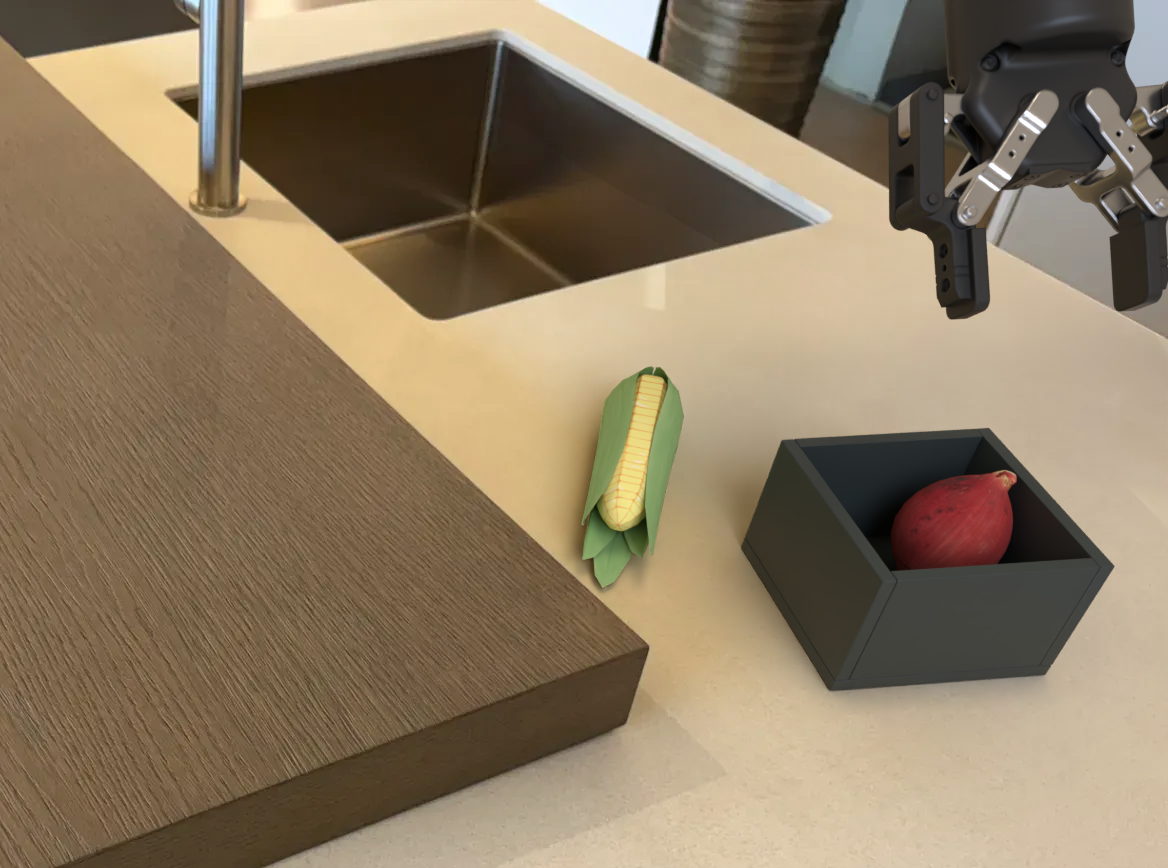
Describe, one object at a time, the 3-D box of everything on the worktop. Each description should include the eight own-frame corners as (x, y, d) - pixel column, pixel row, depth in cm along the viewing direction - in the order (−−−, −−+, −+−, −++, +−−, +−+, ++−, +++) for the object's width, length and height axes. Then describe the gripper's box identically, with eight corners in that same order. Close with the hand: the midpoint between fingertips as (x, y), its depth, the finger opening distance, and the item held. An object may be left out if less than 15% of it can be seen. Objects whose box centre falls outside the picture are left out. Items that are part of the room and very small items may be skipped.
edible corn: (680, 422, 92) (698, 362, 89) (646, 603, 79) (666, 542, 76) (603, 407, 93) (619, 347, 90) (557, 584, 80) (573, 522, 77)
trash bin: (935, 534, 84) (989, 427, 78) (1045, 675, 75) (1115, 566, 70) (740, 547, 83) (781, 439, 77) (829, 691, 74) (883, 581, 69)
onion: (874, 572, 75) (981, 451, 72) (850, 543, 81) (948, 430, 77) (960, 628, 76) (1070, 511, 72) (930, 596, 81) (1032, 485, 78)
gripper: (939, -78, 59) (962, 295, 60) (1241, -85, 61) (1262, 279, 61) (844, 9, 67) (865, 340, 67) (1114, 1, 68) (1134, 326, 68)
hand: (1054, 311), depth 64 cm, fingers open, 8 cm apart
